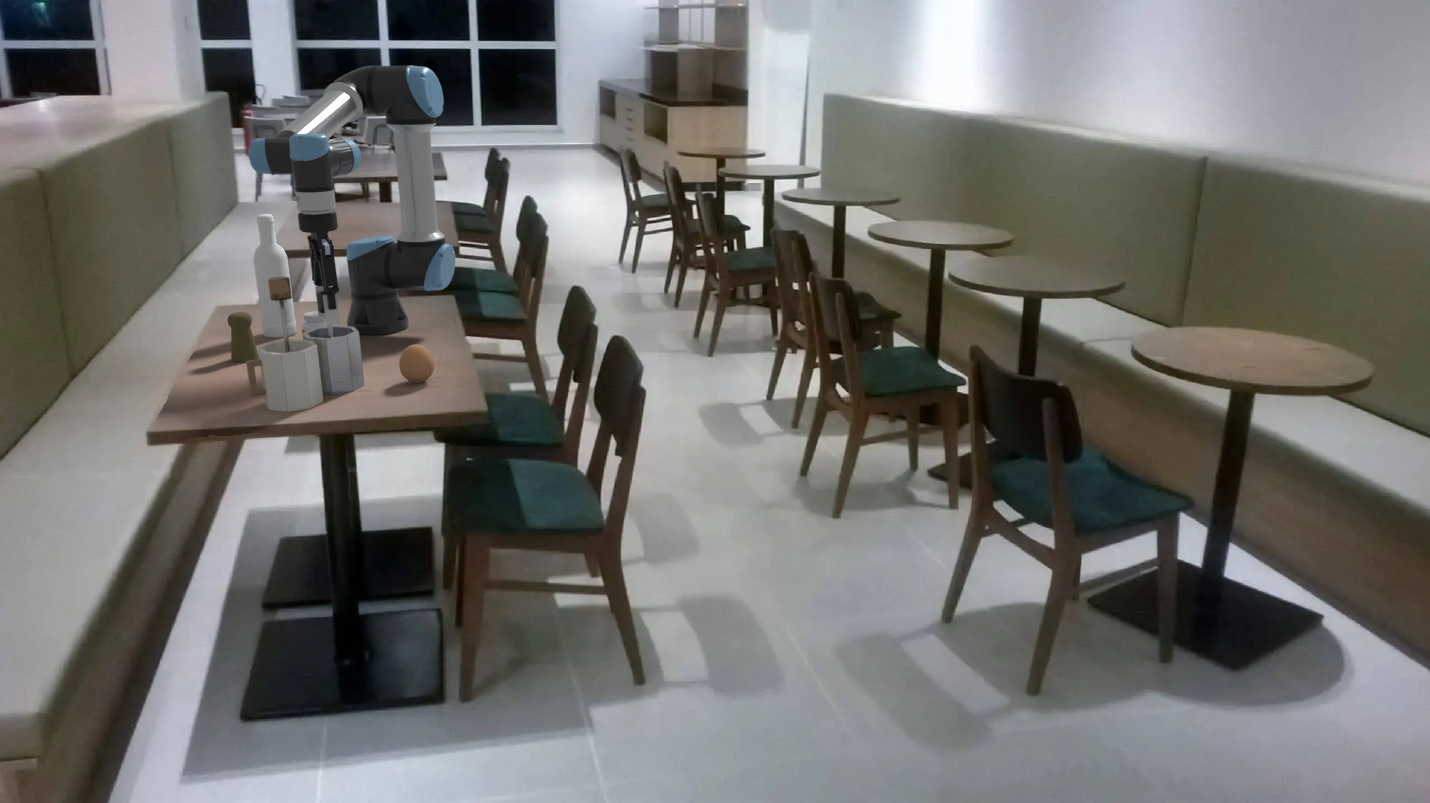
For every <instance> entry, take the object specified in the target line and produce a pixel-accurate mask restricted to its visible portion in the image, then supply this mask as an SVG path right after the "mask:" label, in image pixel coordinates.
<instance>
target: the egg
mask: <svg viewBox="0 0 1430 803" xmlns="http://www.w3.org/2000/svg"><path fill="white" fill-rule="evenodd" d="M398 364H399V365H398V367H399V371H400V374H401V375H402V377H403V378H405V379H406V380H407V381H408V382H410V383H412V384H413V383H414V384H421V383H424V382H426V381H427V380H428V379H429V378H431V376H432V375H433V373H434V370H435V360H434V357H433V355H432V354H431V352H430V350H428V349H427V347H425V346H424V345H421V344H417V343H415V344H411V345H408V347H406V348H405V349H404V350H403V351H402V354H401V355H400V358H399V362H398Z"/></svg>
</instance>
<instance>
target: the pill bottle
mask: <svg viewBox="0 0 1430 803" xmlns="http://www.w3.org/2000/svg"><path fill="white" fill-rule="evenodd" d="M303 318H304V321H305V322H303V324H302V325H301V331H302V334H303V333H304V332H307V331H309V330H312V329H314V328H320V327H328V325H326V318H325V317H319V315H318V310H315V311H308V312H305V313H304V314H303Z"/></svg>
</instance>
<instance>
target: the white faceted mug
mask: <svg viewBox="0 0 1430 803" xmlns="http://www.w3.org/2000/svg"><path fill="white" fill-rule="evenodd" d="M289 345H290V352H287V353H286V351H285V343H284V339H283V340H276V341H270V342H268V343H265V344H263V345H260V346H259V347H257V352H258V355H259V359H255V360H248V361H246V362H245V364H246V370H247V378H248V383H249V392H250V396H251V397H252V398H254V397H260V396H264V405H265V406H266V407H267V409H268V410H269V411H275V412H276V411H277V412H285V413H288V412H289V413H290V412H296V411H302V410H308V409H312V408H314V407H316V406H317V405H320V404H321V403H323V402H324V394H323V393H322V384H321V376H320V368H319V359H318V351H317V345H316V344H315V343H314V342H313V341H312V340H303V339H298V338H297V339H295V338H292V339H289ZM255 367H260V376H261V381H262V382H261V383H262V388H261V387H260V388H258V383H257V377H256V370H255V369H256V368H255Z"/></svg>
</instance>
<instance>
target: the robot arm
mask: <svg viewBox="0 0 1430 803" xmlns="http://www.w3.org/2000/svg"><path fill="white" fill-rule="evenodd" d="M442 88H443V87H442V85H441V83H440V81H439V78H438V77H437V75H436V74H435V72H434V71H433V70H432V69H430V68H429V67H426V66H418V65H411V64H410V65H366V66H361V67H359V68H356V69H353V70H351V71H350V72H349V71H348V73H346V74H343V75H342V76H340V77H339V78H337V79H335V80H334V81H333V82H331V83H330V84H329V85H327V87H325V89H324V91H323V96H321V98H319V99H318V100H317V101H316V102H314V103H312V105H311V106H310V107H308V108H307V109H306V110H304V111H303V112H302V113H301V114H300V115H298V116H297V117H295V119H294V120H293V121H291V122H290V123H288V124H287V125H286V126H285V127H284V128H282V130H280V131H278V133H277V134H275V135H274V136H273V137H262V138H261V137H259V138H254V139H253V140H252V141H251V142H250V144H249V147H248V152H247V154H248V159H249V162H250V166H251V167H252V169H253V170H254V171H255V172H256V173H258V174H262V175H264V174H265V175H271V176H275V175H279V176H280V175H281V176H286V175H289V176H290V175H291V176H293V183H294V191H295V192H294V193H295V195H293V196H292V200H293V201H294V202H296V208H297V211H299V212H298V214H297V219H298V228H299V230H300V231H301V232H303V233H308V234H310V235H307V240H308V242H307V243H308V249H309V259H310V269H311V270H310V271H311V280H312V282H313V284H314V289H315V293H316V292H318V291H323V290H324V291H323V292H320V294H321V295H323V301H324V310H325V313H319V312H318V315H319V317H325V318H326V319H325V321H326V325H332V326H334V325H340V324H341V318H340V316H341V315H340V310H339V299H338V293H339V292H340V287H339V281H338V273H337V266H336V260H335V246H334V244H333V240H332V239H330V238H329V232H334V231H336V230H337V229H338V228H339V225H338V214H337V212H336V211H335V209H336V208H337V204H336V203H337V202H336V196H335V195H336V194H335V188H334V180H333V178H335V177H340V176H347V175H350V173H353V172H355V171H356V170H358V168H359V167H360V165H361V163H362V153H361V150H360V147H359V146H358V144H357V143H356V142H355V141H353V140H352V139H350V138H347V137H335V138H331V137H332V136H334V134H336V133H337V132H339V130H340V129H341V128H343V126H345V125H346V124H347V123H351V122H353V123H354V122H355V121H357V120H358V119H360V118H362V117H373V116H374V117H375V116H376V117H377V116H378V117H385V123H386V126H387V127H388V128H389V129H390V130H392V133H393V140H394V152H395V163H396V172H397V184H398V185H397V186H398V195H399V205H400V206H399V207H400V217H401V218H400V219H401V228H402V230H401V232H400V233H399V234H398V235H397V237H396V242H395V239H394V237H393V236H392V235H387V234H386V235H375V236H369V237H365V238H361V239H356V240H354V241H351V242H349V244H348V245H347V246H346V263H347V269H348V270H347V271H348V272H347V273H348V280H349V287H350V288H349V289H350V295H351V297H350V298H351V300H350V306H349V310H348V315H347V319H346V326H349V327H355V328H356V329H357V330H358V331H359V335H370V336H371V335H385V334H390V333H391V334H392V333H395V332H399V331H400V332H401V331H403V330H404V329H407V328H408V327H409V317H408V315H407V311H406V310H405V307H404V305H403V303H402V301H401V298H400V295H399V290H414V291H416V290H417V291H425V292H431V291H442V290H444V289H445V288H447V287H448V286H449V284H450V283H451V281H452V280H453V277H454V273H455V269H456V253H455V249H454V247H453V246H452V245H451V244H449V243H446V236H445V234H444V233H443V232H442V231H440V230H439V225H438V214H437V212H438V211H437V202H436V200H437V199H436V190H435V189H436V188H435V186H436V185H435V175H434V165H433V164H434V162H433V161H434V160H433V151H432V150H433V149H432V140H431V139H432V137H431V131H432V130H433V128H434V127H435V126H436V125H437V122H436V120H437V119H436V118H438V117H440V116H441V115H442V113H443V112H444V102H445V99H444V93H443V89H442ZM330 138H331V139H330ZM315 298H316V299H317V296H316V295H315ZM316 305H317V304H316ZM317 308H318V305H317Z"/></svg>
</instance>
